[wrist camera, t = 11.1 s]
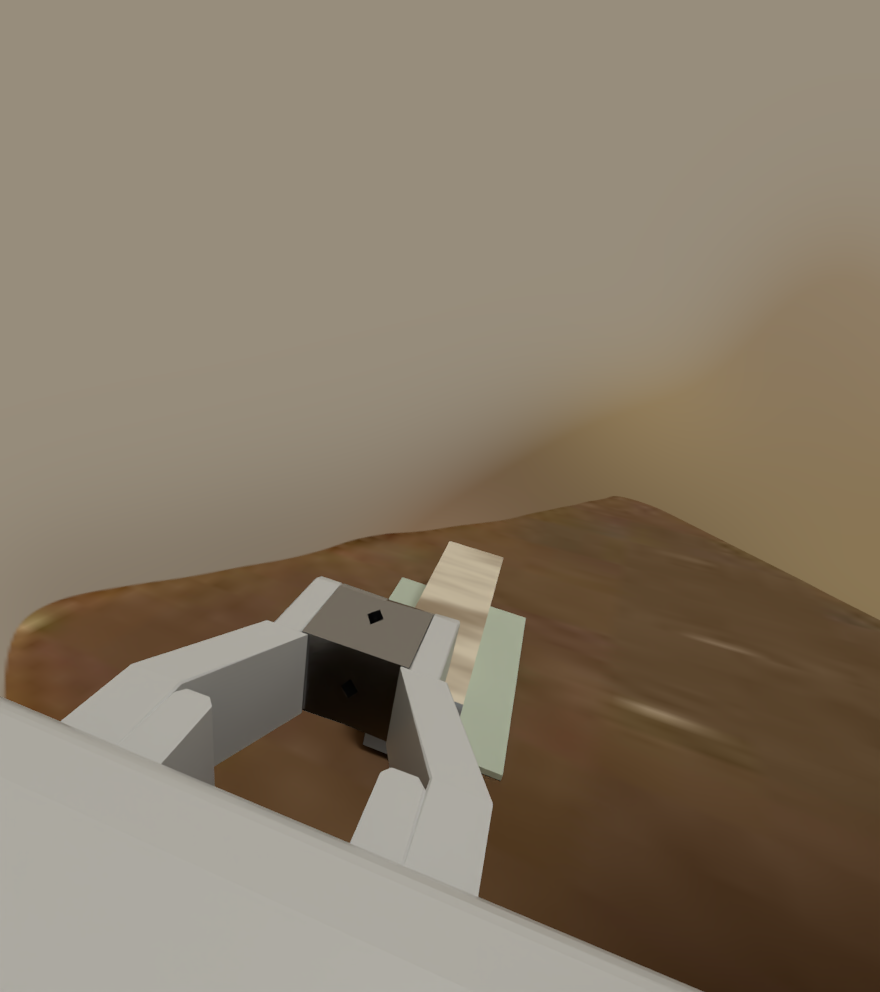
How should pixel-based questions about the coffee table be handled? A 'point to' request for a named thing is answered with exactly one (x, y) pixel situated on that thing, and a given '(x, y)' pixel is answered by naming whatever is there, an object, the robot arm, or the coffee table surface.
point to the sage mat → (485, 681)
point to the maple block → (459, 612)
